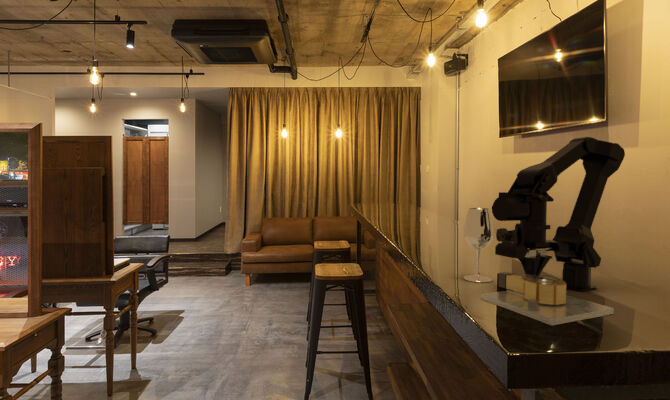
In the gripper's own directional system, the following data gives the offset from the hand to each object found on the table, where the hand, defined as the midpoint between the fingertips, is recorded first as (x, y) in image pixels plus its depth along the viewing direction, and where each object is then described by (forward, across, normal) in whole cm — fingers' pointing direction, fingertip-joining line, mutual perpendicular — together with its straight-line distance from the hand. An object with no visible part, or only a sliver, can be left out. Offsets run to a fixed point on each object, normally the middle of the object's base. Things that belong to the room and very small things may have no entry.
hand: (531, 283), depth 93 cm
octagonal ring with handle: (+1, +6, +5) cm, 8 cm away
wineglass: (+3, +2, -15) cm, 16 cm away
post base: (+2, +6, +9) cm, 11 cm away
